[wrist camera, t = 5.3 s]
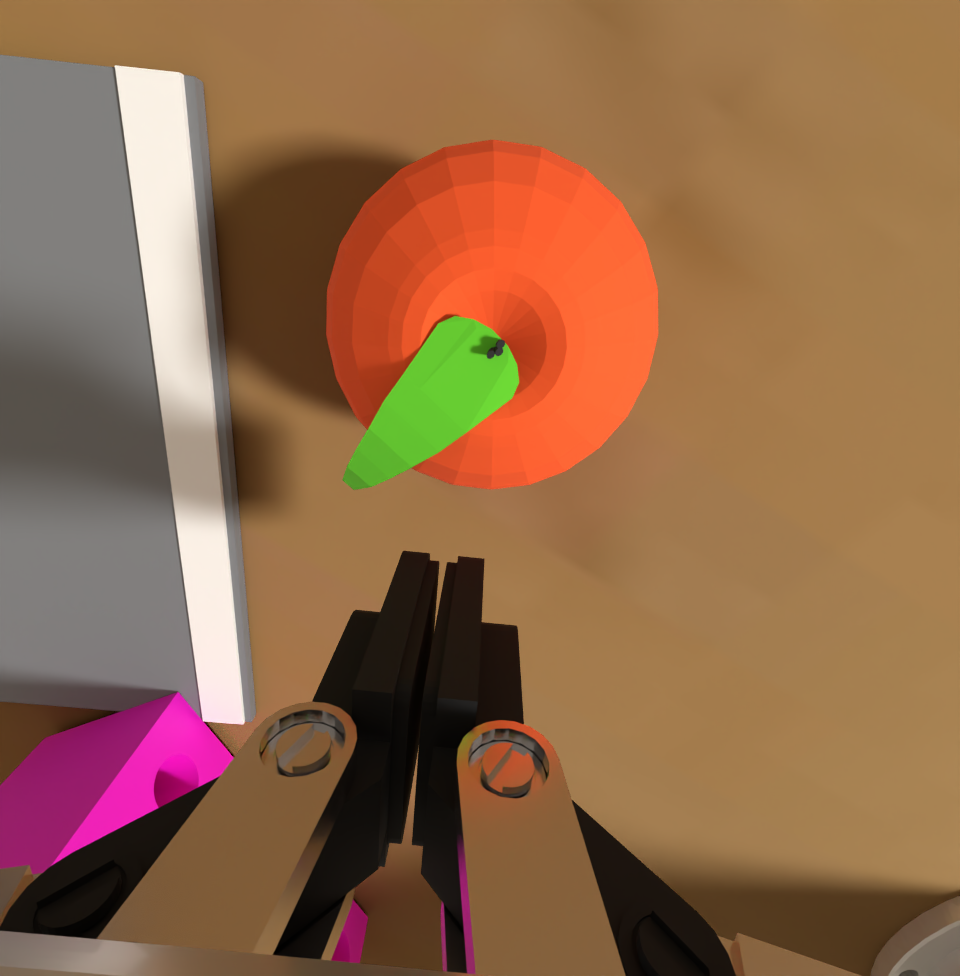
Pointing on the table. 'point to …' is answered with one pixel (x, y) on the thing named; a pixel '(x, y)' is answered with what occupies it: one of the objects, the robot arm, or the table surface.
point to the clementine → (489, 318)
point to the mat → (114, 399)
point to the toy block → (116, 787)
